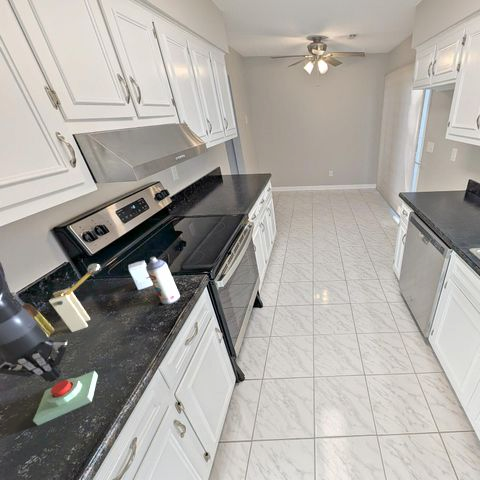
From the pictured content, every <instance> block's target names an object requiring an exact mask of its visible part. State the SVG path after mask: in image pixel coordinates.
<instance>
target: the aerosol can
mask: <svg viewBox="0 0 480 480" xmlns="http://www.w3.org/2000/svg"><path fill="white" fill-rule="evenodd" d="M146 270H147V273H148V275H149V277H150V279H151V281H152V283H153V285H152V286H153V287H154V289H155V292H156V294H157V296H158V299H159V300H160V302H161V304H162V305H165V306H168V305H169V306H170V305H171V304H174V303H176V302H178V301H179V299H180V298H181V294H180V292H179V290H178V288H177V285H176V282H175V281H174V278H173V276H172V273H171V271H170V269H169V265H168V264H167V262H166V260H163V259H159V258H156V256H151V257H150V258H149V262H148V263H147V264H146Z"/></svg>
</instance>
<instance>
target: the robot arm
mask: <svg viewBox="0 0 480 480" xmlns="http://www.w3.org/2000/svg"><path fill="white" fill-rule="evenodd" d="M3 267H4V266H3V264H2V263H1V261H0V356H1V357H2V358H3V360H4V361H3V362H2V364H1V365H0V374H2V375H3V374H4V375H10V376H11V375H12V376H18V377H26V378H30V377H32V376H33V375H38V376H40V377H41V378H42V379H43V380H44V381H45V382H49V383H52V382H55V381H57V380H59V379H60V376H61V373H62V370H61V369H60V367H59V366H60V363H61V361H62V360H63V357H64V355H65V352H66V350H67V349H68V345H69V344H70V343H69V342H70V341H69V340H68V339H65V340H63V341H62V342H60V341H55V340H54V339H53V338H50V337H49V338H48V337H47V335H46V333H45V332H44V331H43V329H42V328H41V327H40V326H39V324H38V323H37V322H36V321H35V320H34V318H33V317H32V316H31V315H30V314H29V313H28V312H27V311H26V310H25V309H24V308H23V307H22V306H21V305H20V304H19V303H18V302H17V300H16V299H15V298H14V297H13V296H12V294H11V293H12V292H11V289H10V287H9V285H8V281H7V279H6V274H5V269H4V268H3ZM53 350H54V352H55V353H56V356H55V358H53V354H52V351H53Z"/></svg>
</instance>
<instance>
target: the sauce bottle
mask: <svg viewBox="0 0 480 480" xmlns="http://www.w3.org/2000/svg"><path fill="white" fill-rule="evenodd" d="M10 293H11V294H12V296H13V297H14V298H15V299H16V300H17V302H18V303H19V304H20V305H21V306H22V307H23V308H24V309H25V310H26V311H27V312H28V313H29V314H30V315H31V316H32V317H33V318H34V320H35V321H36V322H37V323H38V324H39V326H40V327H41V328H42V329H43V331H44V332H45V333H46V335H47V337H48V338H50V337H51V336H53V335H54V333H55V328H54V327H53V325H52V324H51V323H50V322H49V320H47V319H46V318H45V317H44V316H43V315H42V314H41V312H40V311H39V310H38V309H36V307H35V306H34V305H32V304H30V303H27V302H24V301H23V300H22V298H20V297H19V294H18V293H17V292H10Z"/></svg>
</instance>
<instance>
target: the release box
mask: <svg viewBox="0 0 480 480" xmlns="http://www.w3.org/2000/svg"><path fill="white" fill-rule="evenodd" d="M98 377H99V374H98V373H97V372H96V371H95V370H92V371H90V372H88V373H84V374H82V375H80V376H78V377H69V378H67V379H66V380H68V381H69V382H70V383H71V385H72V388H71V389H70V390H69V391H68V392H67V393H66V394H64V395H63V396H60V397H55V396H54V395H53V394H52V393H51V389H52V388H53V387H51V388H48V389H46V390H44V393H43V395H42V398H41V401H40V402H39V405H38V407H37V410H36V413H35V415H34V417H33V419H32V422H33V423H35V425H37V426H40V425H43V424H46V423H47V422H49V421H52V420H54V419H56V418H58V417H60V416H63V415H65V414H67V413H70V412H73V411H74V410H76V409H79V408H81V407H83V406H86V405H88V404H90V403H92V402H93V399H94V394H95V389H96V386H97V381H98Z"/></svg>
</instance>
